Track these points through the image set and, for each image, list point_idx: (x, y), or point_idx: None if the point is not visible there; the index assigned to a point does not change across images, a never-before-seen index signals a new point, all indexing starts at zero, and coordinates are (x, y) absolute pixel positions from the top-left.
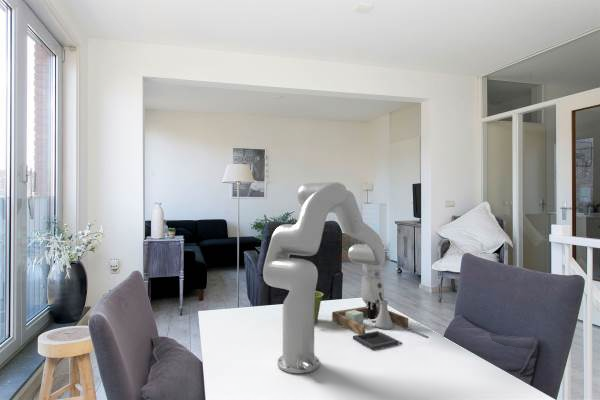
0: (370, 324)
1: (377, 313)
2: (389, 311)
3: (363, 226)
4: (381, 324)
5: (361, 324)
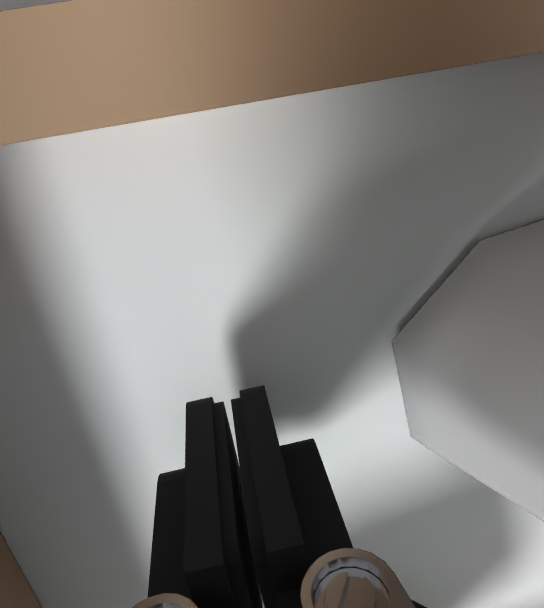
0: (366, 483)
1: None
2: (334, 32)
3: None
4: None
5: None
